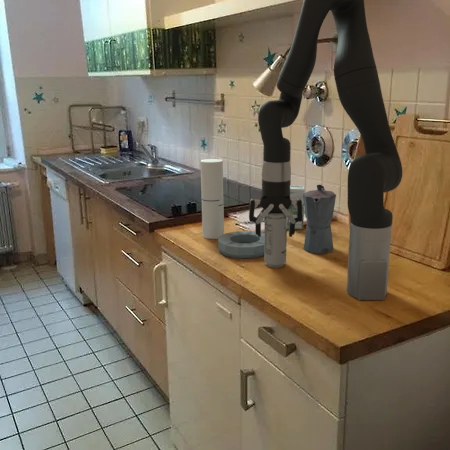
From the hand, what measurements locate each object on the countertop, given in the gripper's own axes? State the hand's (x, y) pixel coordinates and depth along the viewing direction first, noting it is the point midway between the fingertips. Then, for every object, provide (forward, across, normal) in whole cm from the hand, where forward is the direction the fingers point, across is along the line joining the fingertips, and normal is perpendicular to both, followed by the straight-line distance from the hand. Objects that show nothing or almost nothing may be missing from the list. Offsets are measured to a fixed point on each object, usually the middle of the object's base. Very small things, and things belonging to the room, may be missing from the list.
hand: (274, 236), depth 137 cm
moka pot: (+8, +14, +13) cm, 21 cm away
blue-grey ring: (+8, -8, +12) cm, 17 cm away
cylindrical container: (+9, -18, +28) cm, 34 cm away
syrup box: (+9, +10, +36) cm, 38 cm away
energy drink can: (+8, 0, 0) cm, 8 cm away
